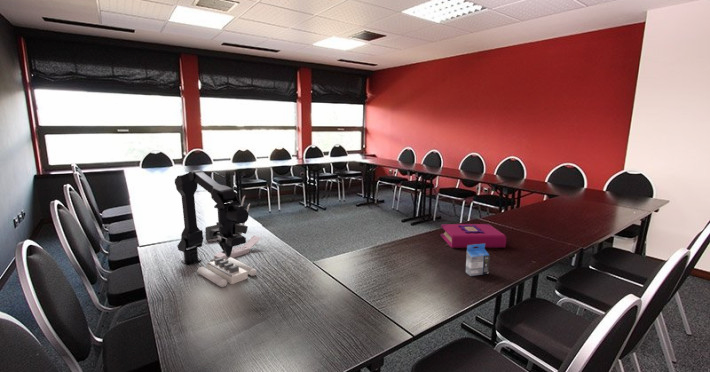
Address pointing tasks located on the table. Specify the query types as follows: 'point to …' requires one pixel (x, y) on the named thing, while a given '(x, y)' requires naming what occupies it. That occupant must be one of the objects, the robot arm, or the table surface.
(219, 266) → the breaker strip
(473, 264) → the label tape box
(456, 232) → the book
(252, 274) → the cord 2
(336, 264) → the table surface
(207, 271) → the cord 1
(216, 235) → the wireless router
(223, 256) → the mobile phone
